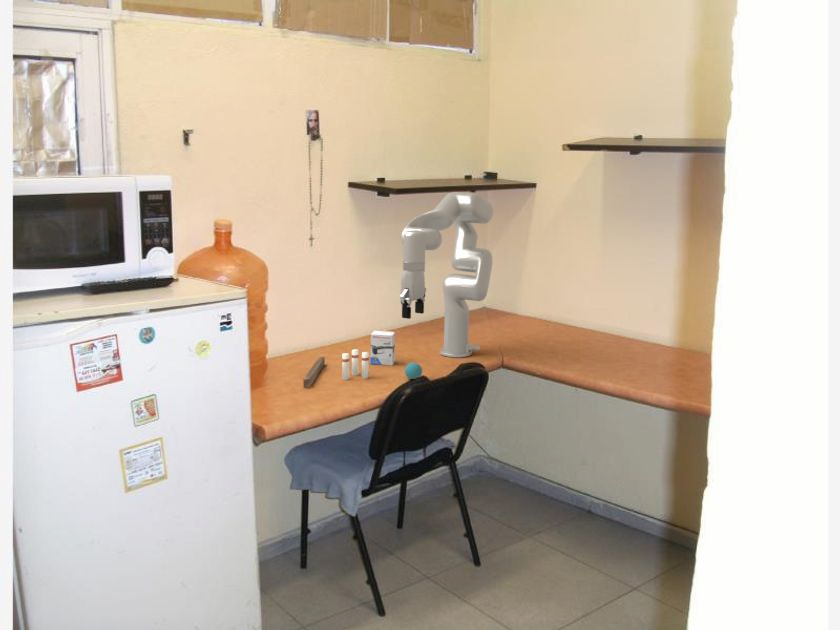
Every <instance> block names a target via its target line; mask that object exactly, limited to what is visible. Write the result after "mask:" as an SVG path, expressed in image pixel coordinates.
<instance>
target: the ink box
mask: <svg viewBox="0 0 840 630" xmlns="http://www.w3.org/2000/svg"><path fill="white" fill-rule="evenodd" d="M395 347H396V332H394V331H383V330H373V331H372V332H371V334H370V365H379V366H380V365H381V366H393V365H394V363H395V362H396V361H395V359H396V358H395V356H396V353H395V351H396V350H395V349H396V348H395Z"/></svg>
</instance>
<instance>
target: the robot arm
mask: <svg viewBox="0 0 840 630" xmlns="http://www.w3.org/2000/svg"><path fill="white" fill-rule="evenodd" d="M493 216H494V209H493V206H492V204H491V202H490V201H488V199H486V198H484V197H483V196H481V195H480V194H477V193H474V192H459V191H453V192H449V193H447V194H446V195H445V196H444V197H443V199H441V201H440V202H438V204H437V205H436V207H435V208H434V209H432V210H430V211H427V212H425V213H423V214H420V215H418V216H416V217H413V219H411V220H410V221H409V222H408V223H407V224H406V225H405V227H404V228H403V230H402V232H401V234H400V235H401V236H400V242H401V244H402V245H403V246H402V247H403V249H402V253H403V254H402V259H403V261H402V276H401V280H400V281H401V282H400V294H399V299H400V304H401V318H402V319H408V320H410V319H412V317H411V316H412V307H411V304H412V302H413V301H415V302H414V308H415V310H414V313H415V314H424V313H425V311H424V310H425V298H426V291H427V288H426V286H425V285H426V282H425V280H426V278H425V272H426V251H435V250H438V248H440V247H441V245H442V242H443V235H442V234H441V232H440V231H444V230H447V229H449V228H450V227H451V226H452V225H453V227H454V231H455V239H454V244H453V248H452V250H453V251H452V255H451V263H450V264H451V267H452V268H453V269H454V270H455V271H459V272H465V273H467V272H468V273H475V275H472V274H463V273H462V274H461V273H451V274H448V275H446V276H445V277H444V279H443V281H442V290H443V291H442V292H443V298H444V322H443V323H444V324H443V325H444V326H443V347H442V348H440V349H439V354H440V355H442V356H444V357H449V358H466V357H469V356H471V355H472V353H473V351H480V345H477V344H471V343H470V341H469V332H470V331H469V329H470V328H469V326H470V308H469V305H468V304H467V301H473V302H482V301H484V300H485V299H486V297H487V294H488V291H489V286H490V280H491V275H492V271H493V255H492V253H491V251H490V250H489V249H487V248H484V247H483V248H480V247H477V244H478V243H477V242H478V233H477V231H476V228H475V227H474V225H473V224H483V225H484V224H488V223H489V222H491V220H492V219H493Z"/></svg>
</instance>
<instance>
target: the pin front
mask: <svg viewBox="0 0 840 630" xmlns="http://www.w3.org/2000/svg"><path fill="white" fill-rule="evenodd" d="M369 356H370V352H369V351H362V352H361V379H369V378H370V377H369V375H370V374H369V373H370V372H369V369H370V366H369V364H370V357H369Z"/></svg>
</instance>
